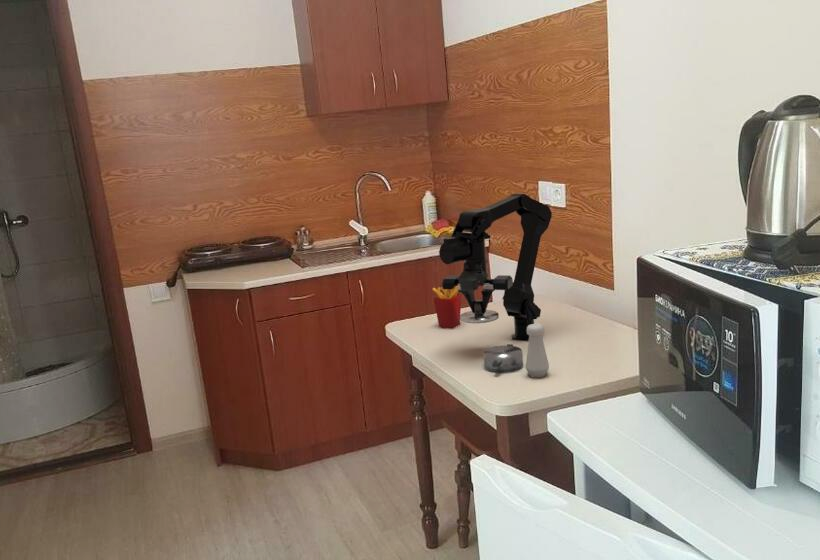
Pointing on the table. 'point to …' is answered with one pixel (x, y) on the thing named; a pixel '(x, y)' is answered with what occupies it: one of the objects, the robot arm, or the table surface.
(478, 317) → the lid
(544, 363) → the salt shaker
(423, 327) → the table surface
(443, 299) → the french fries
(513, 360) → the pot
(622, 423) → the table surface
